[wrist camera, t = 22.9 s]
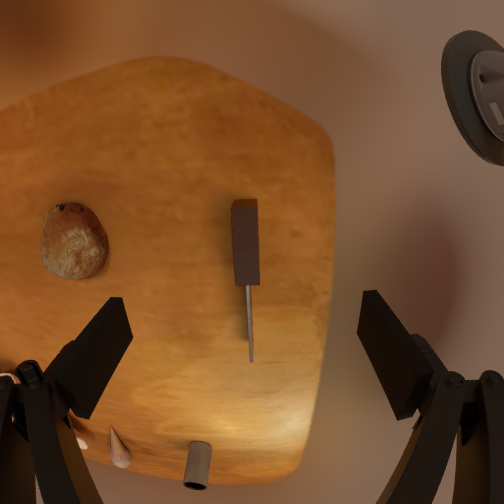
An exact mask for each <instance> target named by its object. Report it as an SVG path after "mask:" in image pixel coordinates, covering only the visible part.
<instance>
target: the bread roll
mask: <svg viewBox="0 0 504 504" xmlns="http://www.w3.org/2000/svg"><path fill="white" fill-rule="evenodd" d="M107 254H108V242H107V236H106V234H105V232H104V229H103V228H102V226H101V224H100V222H99V221H98V219H97V217H96V216H95V215H94V213H92V212H91V211H90V210H89V209H87V208H86V207H84V206H82V205H80V204H77V203H66V204H60V205H56V208H54V209H52V210H51V212H50V211H48V213H47V214H46V216H45V221H44V227H43V230H42V232H41V256H42V260H43V263H44V265H45V266H46V268H47V269H48V270H49V271H50V272H52V273H53V274H55V275H56V276H58V277H60V278H63V279H66V280H73V279H74V280H81V279H87V278H90V277H93V276H94V275H96V274H97V273H98V272H100V270H101V269H102V268H103V266H104V264H105V262H106V259H107Z"/></svg>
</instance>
